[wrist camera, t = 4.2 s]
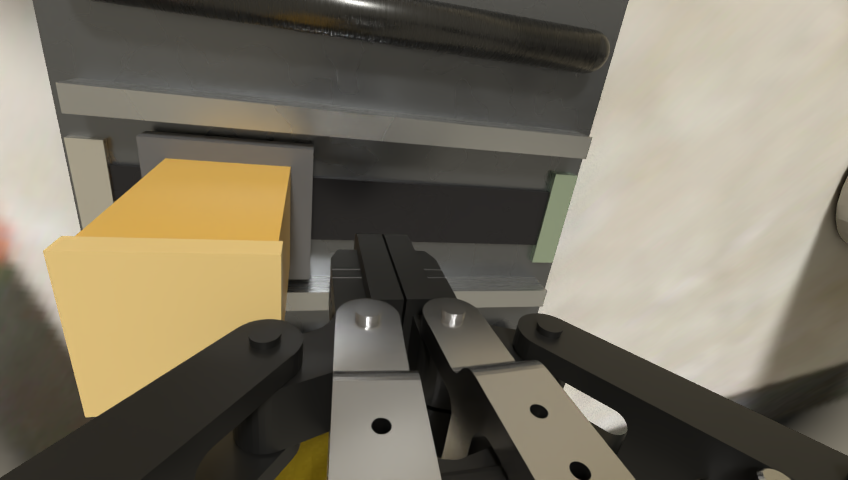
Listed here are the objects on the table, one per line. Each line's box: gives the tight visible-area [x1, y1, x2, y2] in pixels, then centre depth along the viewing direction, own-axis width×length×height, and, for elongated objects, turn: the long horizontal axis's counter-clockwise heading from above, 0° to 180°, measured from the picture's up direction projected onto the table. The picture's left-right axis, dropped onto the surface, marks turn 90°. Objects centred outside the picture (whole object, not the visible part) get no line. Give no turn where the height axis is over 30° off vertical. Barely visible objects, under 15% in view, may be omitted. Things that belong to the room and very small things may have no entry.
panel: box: [33, 0, 629, 334], centre depth 16 cm, size 18×18×3 cm
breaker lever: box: [43, 131, 314, 417], centre depth 12 cm, size 5×5×7 cm
